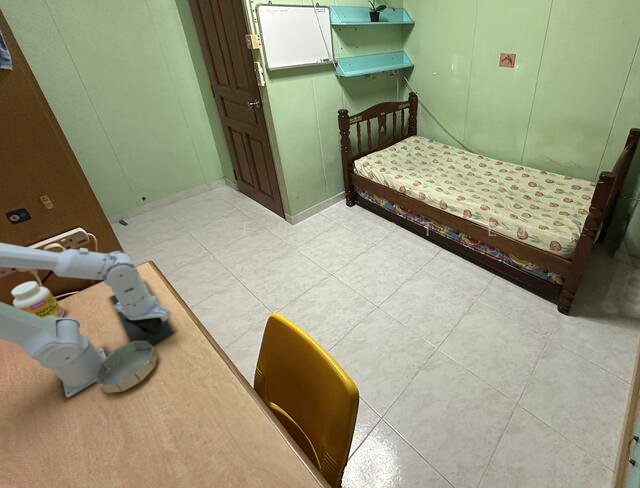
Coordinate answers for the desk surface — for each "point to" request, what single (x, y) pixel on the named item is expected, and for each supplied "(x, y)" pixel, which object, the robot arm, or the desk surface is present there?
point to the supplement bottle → (36, 300)
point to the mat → (137, 334)
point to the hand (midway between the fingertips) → (154, 331)
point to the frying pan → (126, 365)
